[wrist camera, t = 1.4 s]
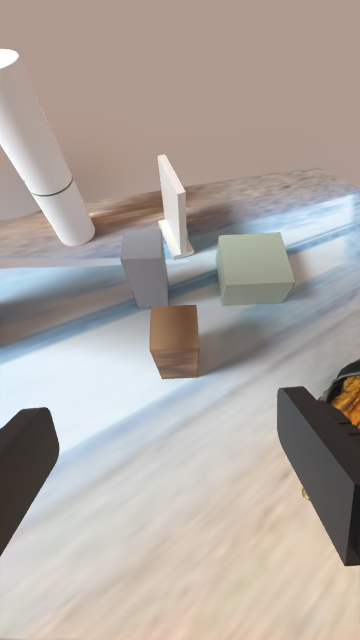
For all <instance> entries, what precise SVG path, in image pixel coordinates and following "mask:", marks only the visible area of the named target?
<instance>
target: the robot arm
mask: <svg viewBox="0 0 360 640" xmlns="http://www.w3.org/2000/svg"><path fill="white" fill-rule="evenodd" d="M277 430H278V436H279V440H280V443H281V445H282V448H283V449H284V451H285V453H286V455H287V457H288V459H289V461H290V463H291V465H292V467H293V469H294V470H295V472H296V474H297V476H298V478H299V480H300V482H301V484H302V486H303V488H304V489H305V491H306V493H307V495H308V497H309V499H310V501H311V503H312V505H313V507H314V508H315V510H316V512H317V514H318V516H319V518H320V520H321V522H322V524H323V526H324V527H325V529H326V531H327V533H328V535H329V537H330V539H331V541H332V543H333V545H334V547H335V548H336V550H337V552H338V554H339V556H340V558H341V560H342V562H343V564H344V566H356V565H360V429H359V428H358V427H357V426H356V425H355V424H352V421H351V420H350V419H349V418H348V417H347V416H346V415H345V414H344V413H342V412H341V411H340V410H339V409H338V408H336V407H334V406H332V405H330V404H329V403H327V402H325V401H323V400H320V401H317V400H316V399H315V398H314V397H313V396H312V395H311V394H310V393H309V392H308V390H307V389H306V388H305V387H303V386H298V387H286V388H279V390H278V395H277ZM58 455H59V442H58V438H57V434H56V431H55V427H54V423H53V420H52V416H51V413H50V411H49V409H48V408H46V407H42V408H30V409H22V410H20V411H19V412H18V413H17V414H16V415H15V416H14V417H13V418H12V419H11V420H10V421H9V422H8V423H7V424H6V425H5V426H4V427H2V428H1V429H0V556H1V555H2V553H3V551H4V549H5V548H6V546H7V544H8V543H9V541H10V539H11V538H12V536H13V534H14V533H15V531H16V529H17V528H18V526H19V524H20V523H21V521H22V519H23V518H24V516H25V514H26V513H27V511H28V509H29V508H30V506H31V504H32V502H33V501H34V499H35V497H36V496H37V494H38V492H39V491H40V489H41V487H42V486H43V484H44V482H45V481H46V479H47V477H48V476H49V474H50V472H51V471H52V469H53V467H54V466H55V464H56V462H57V459H58Z"/></svg>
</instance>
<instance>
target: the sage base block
mask: <svg viewBox="0 0 360 640" xmlns="http://www.w3.org/2000/svg"><path fill="white" fill-rule="evenodd" d="M216 265H217V273H218V281H219V289H220V297H221V305H222V306H224V305H247V304H270V303H282V302H283V301H284V299H285V298H286V296H287V294H288V293H289V291H290V290H291V288H292V287H293V285H294V284H295V279H294V276H293V272H292V269H291V266H290V263H289V259H288V256H287V253H286V250H285V246H284V243H283V240H282V236H281V233H280V232H278V233H258V234H238V235H219V239H218V247H217V254H216Z"/></svg>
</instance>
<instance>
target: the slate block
mask: <svg viewBox="0 0 360 640" xmlns="http://www.w3.org/2000/svg"><path fill="white" fill-rule="evenodd" d="M120 260H121V263H122V265H123V268H124V271H125V273H126V276H127V278H128V281H129V284H130V286H131V289H132V292H133V294H134V297H135V300H136V302H137V305H138V308H151V307H160V306H168V277H167V270H166V263H165V255H164V248H163V240H162V233H161V229H152V230H132V231H124V232H123V241H122V250H121V259H120Z"/></svg>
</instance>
